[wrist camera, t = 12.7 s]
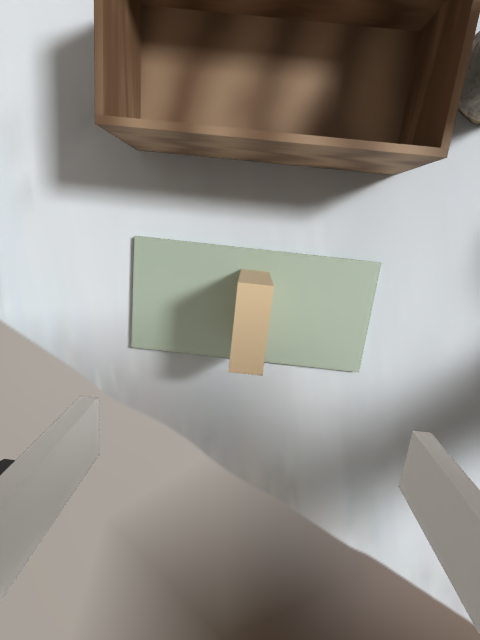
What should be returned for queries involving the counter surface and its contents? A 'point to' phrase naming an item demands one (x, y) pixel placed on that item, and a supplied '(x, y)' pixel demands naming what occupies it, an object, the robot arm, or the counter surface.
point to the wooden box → (285, 78)
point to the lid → (251, 304)
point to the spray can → (472, 85)
